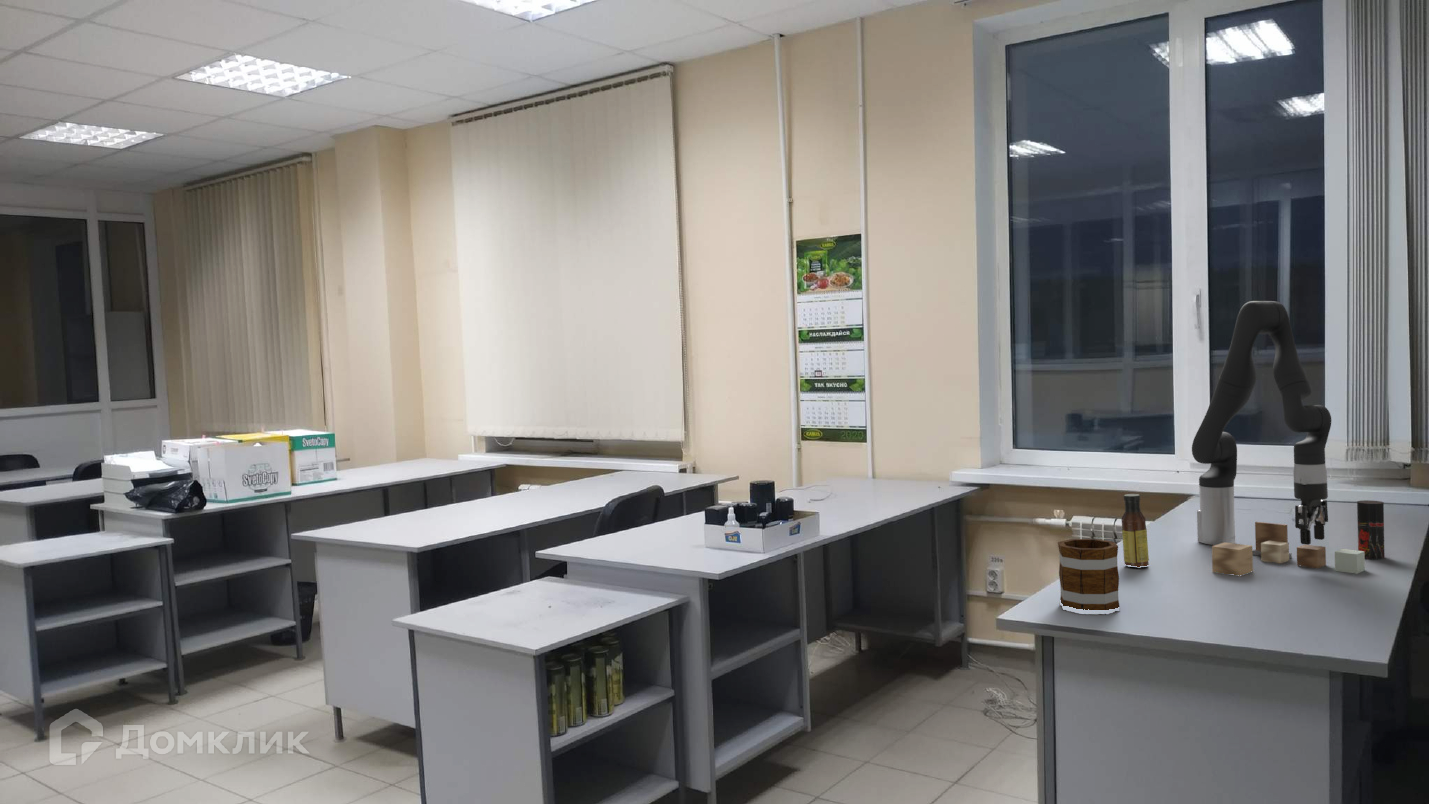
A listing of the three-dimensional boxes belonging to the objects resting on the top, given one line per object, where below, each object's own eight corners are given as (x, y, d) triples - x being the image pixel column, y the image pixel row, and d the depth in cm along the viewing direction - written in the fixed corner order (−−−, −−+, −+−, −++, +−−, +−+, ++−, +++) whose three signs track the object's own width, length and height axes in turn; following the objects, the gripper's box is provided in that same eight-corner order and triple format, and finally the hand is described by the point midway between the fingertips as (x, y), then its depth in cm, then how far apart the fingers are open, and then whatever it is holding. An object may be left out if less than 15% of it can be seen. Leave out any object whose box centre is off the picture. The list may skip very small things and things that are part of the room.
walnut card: (1252, 554, 268) (1251, 522, 267) (1257, 553, 269) (1256, 520, 269) (1286, 559, 260) (1286, 525, 260) (1291, 557, 262) (1290, 524, 262)
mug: (1113, 618, 213) (1111, 551, 212) (1051, 611, 221) (1049, 547, 220) (1132, 597, 229) (1130, 536, 228) (1074, 592, 237) (1072, 532, 236)
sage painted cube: (1335, 571, 246) (1334, 551, 245) (1342, 567, 249) (1342, 548, 248) (1357, 573, 242) (1356, 554, 241) (1364, 570, 244) (1364, 551, 244)
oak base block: (1212, 572, 250) (1211, 546, 250) (1225, 568, 254) (1224, 542, 254) (1240, 576, 244) (1239, 549, 244) (1252, 572, 248) (1252, 545, 248)
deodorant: (1388, 559, 255) (1387, 503, 254) (1364, 559, 256) (1363, 504, 256) (1378, 554, 261) (1377, 500, 260) (1354, 554, 262) (1353, 500, 261)
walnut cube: (1297, 566, 253) (1296, 547, 253) (1305, 562, 256) (1304, 544, 256) (1317, 568, 249) (1317, 549, 249) (1325, 565, 252) (1325, 546, 251)
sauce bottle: (1149, 564, 262) (1147, 493, 261) (1148, 569, 256) (1146, 496, 255) (1123, 563, 264) (1121, 492, 263) (1122, 568, 259) (1120, 496, 258)
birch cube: (1261, 561, 260) (1260, 543, 260) (1269, 558, 263) (1269, 540, 263) (1280, 563, 256) (1280, 545, 256) (1289, 560, 259) (1288, 542, 259)
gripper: (1306, 477, 258) (1308, 536, 259) (1283, 482, 250) (1285, 544, 250) (1337, 478, 252) (1339, 539, 253) (1314, 484, 244) (1316, 547, 244)
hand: (1312, 541), depth 252 cm, fingers open, 8 cm apart
